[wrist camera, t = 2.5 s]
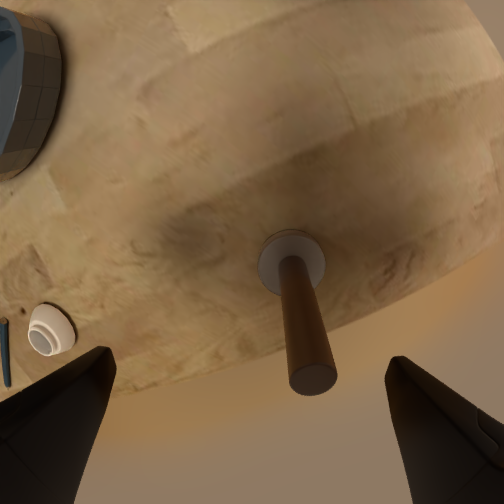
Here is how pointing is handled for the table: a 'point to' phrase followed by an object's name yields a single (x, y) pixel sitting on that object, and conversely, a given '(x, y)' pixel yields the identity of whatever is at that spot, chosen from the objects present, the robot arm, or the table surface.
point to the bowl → (26, 88)
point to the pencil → (4, 351)
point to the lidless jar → (50, 331)
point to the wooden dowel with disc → (299, 308)
